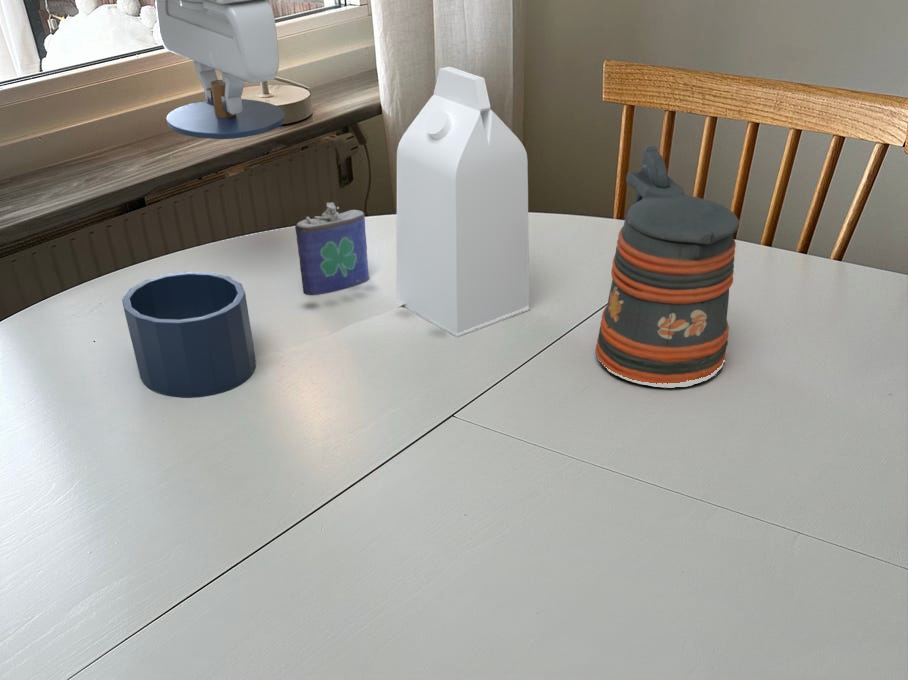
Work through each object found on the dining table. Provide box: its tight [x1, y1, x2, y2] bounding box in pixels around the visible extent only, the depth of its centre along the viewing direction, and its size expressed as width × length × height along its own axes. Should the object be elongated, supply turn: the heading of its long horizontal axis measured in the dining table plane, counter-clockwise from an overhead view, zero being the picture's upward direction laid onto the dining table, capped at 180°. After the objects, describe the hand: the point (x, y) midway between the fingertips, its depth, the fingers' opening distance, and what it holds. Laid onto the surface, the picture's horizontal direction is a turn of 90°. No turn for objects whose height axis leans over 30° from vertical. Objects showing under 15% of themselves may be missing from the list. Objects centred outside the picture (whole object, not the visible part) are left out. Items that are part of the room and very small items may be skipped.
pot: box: [121, 271, 257, 398], centre depth 110 cm, size 13×13×8 cm
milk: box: [395, 66, 530, 338], centre depth 117 cm, size 12×12×26 cm
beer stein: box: [595, 145, 740, 390], centre depth 111 cm, size 19×15×20 cm
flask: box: [294, 201, 370, 296], centre depth 125 cm, size 9×3×11 cm, turn 124°
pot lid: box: [166, 79, 286, 140], centre depth 118 cm, size 14×14×5 cm
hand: (224, 108), depth 118 cm, fingers closed on pot lid, 2 cm apart
